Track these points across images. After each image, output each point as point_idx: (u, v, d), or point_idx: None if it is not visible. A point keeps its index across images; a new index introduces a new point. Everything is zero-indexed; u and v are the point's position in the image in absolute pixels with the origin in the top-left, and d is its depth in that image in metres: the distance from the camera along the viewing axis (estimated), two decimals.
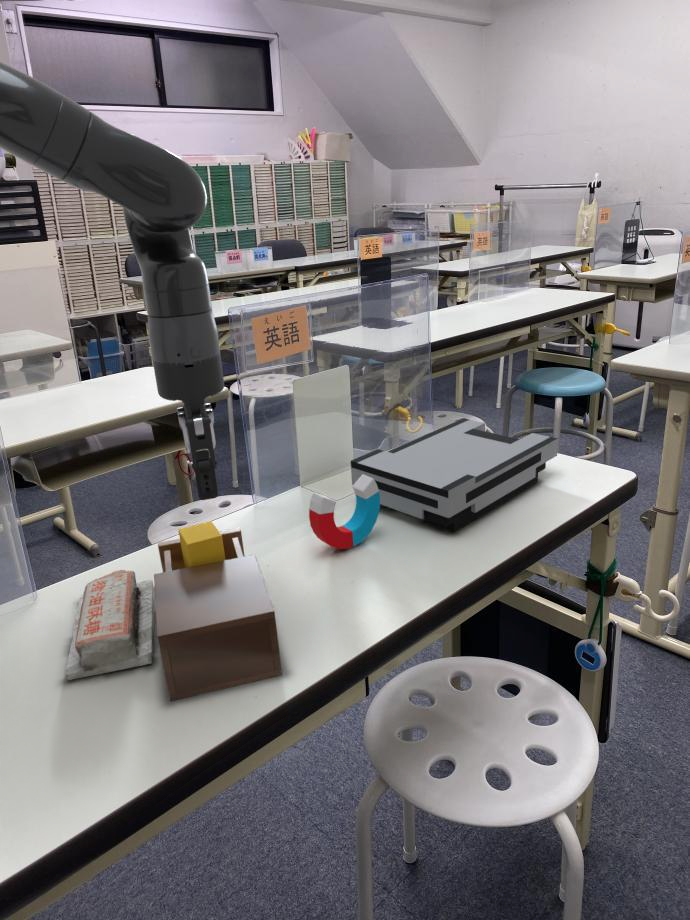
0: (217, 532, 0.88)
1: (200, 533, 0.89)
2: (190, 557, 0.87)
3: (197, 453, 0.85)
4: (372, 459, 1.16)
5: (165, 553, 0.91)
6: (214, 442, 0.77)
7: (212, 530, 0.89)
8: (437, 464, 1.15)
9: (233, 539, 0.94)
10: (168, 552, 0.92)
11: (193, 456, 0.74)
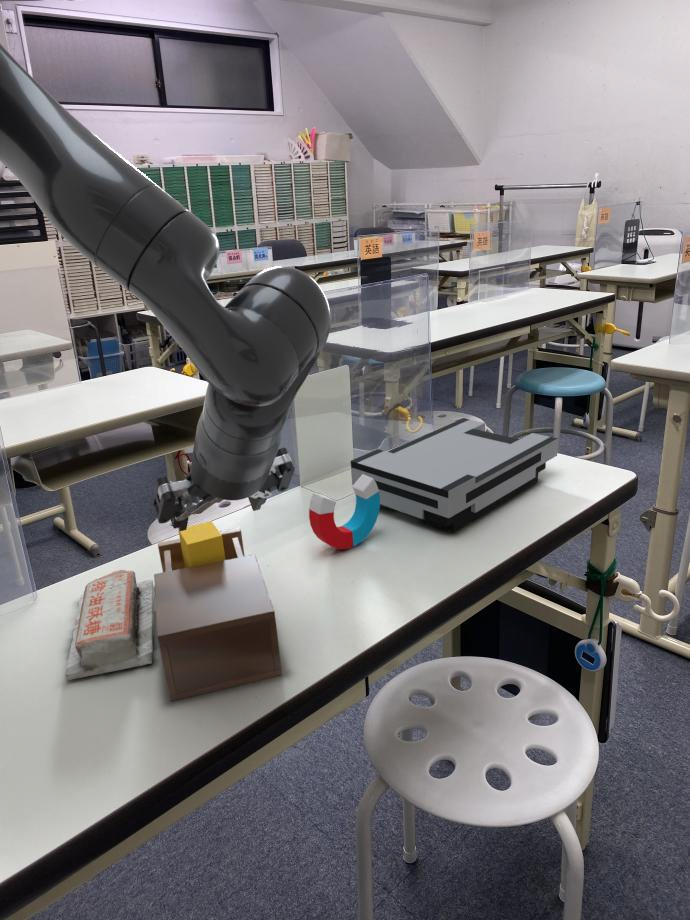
0: (217, 532, 0.88)
1: (200, 533, 0.89)
2: (190, 557, 0.87)
3: None
4: (372, 459, 1.16)
5: (165, 553, 0.91)
6: (191, 511, 0.69)
7: (212, 530, 0.89)
8: (437, 464, 1.15)
9: (233, 539, 0.94)
10: (168, 552, 0.92)
11: (153, 497, 0.69)
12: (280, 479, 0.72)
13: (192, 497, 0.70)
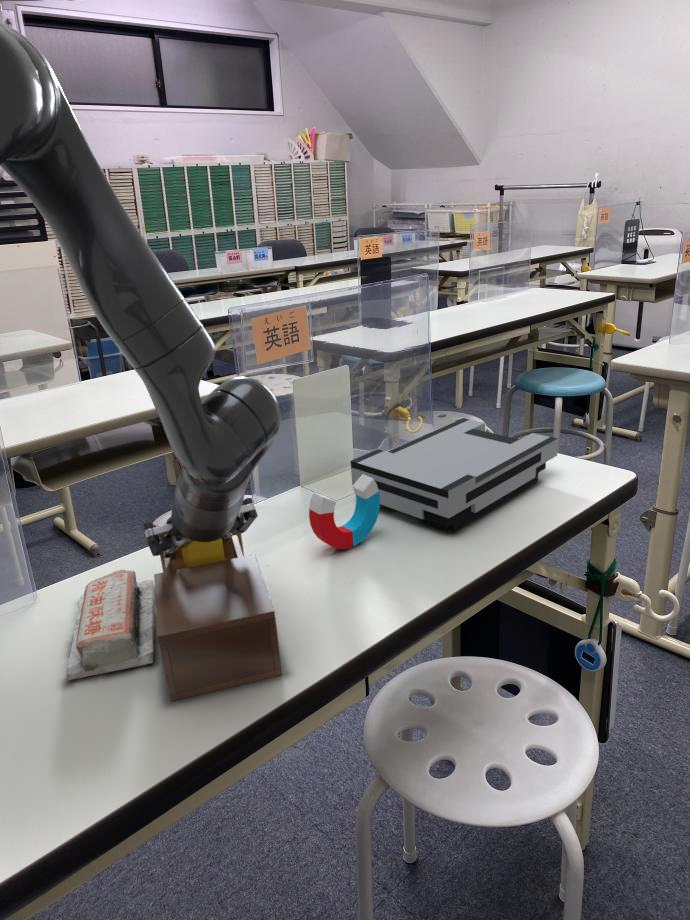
0: None
1: None
2: (189, 554, 0.87)
3: None
4: (372, 459, 1.16)
5: None
6: (176, 547, 0.84)
7: None
8: (437, 464, 1.15)
9: (232, 537, 0.95)
10: None
11: None
12: (243, 523, 0.87)
13: None
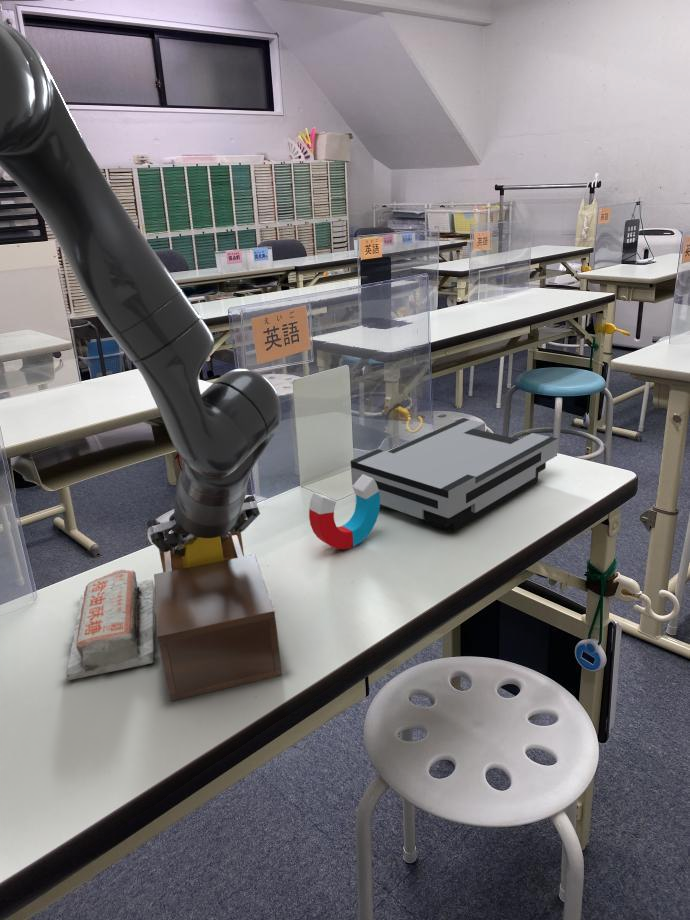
0: None
1: None
2: (187, 551, 0.87)
3: None
4: (372, 459, 1.16)
5: None
6: (182, 544, 0.84)
7: None
8: (437, 464, 1.15)
9: (232, 536, 0.95)
10: None
11: None
12: (243, 521, 0.86)
13: None
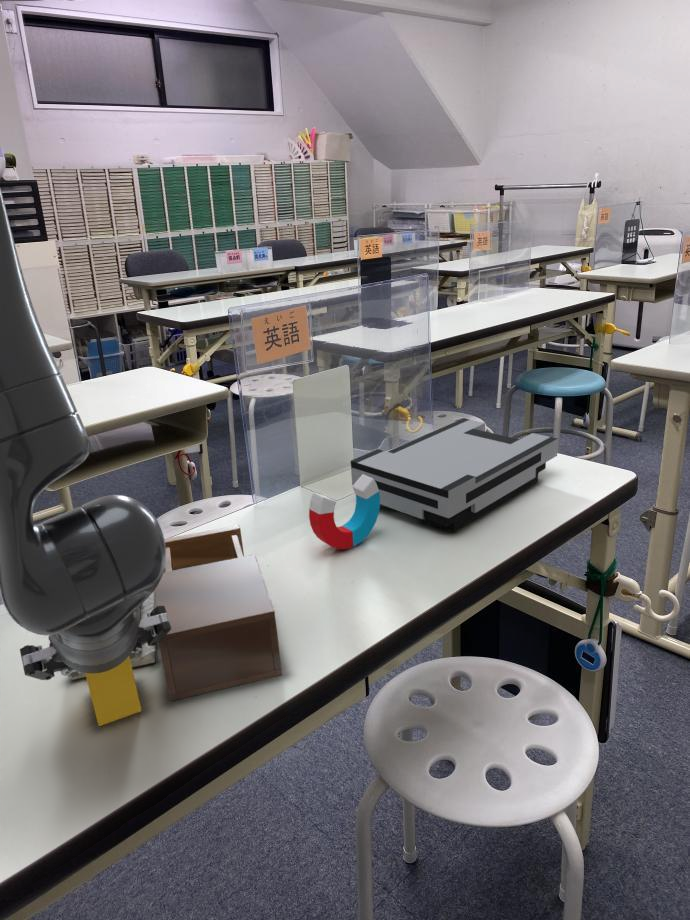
0: None
1: None
2: None
3: None
4: (372, 459, 1.16)
5: None
6: (69, 671, 0.67)
7: None
8: (437, 464, 1.15)
9: (232, 536, 0.95)
10: (167, 549, 0.92)
11: None
12: (153, 636, 0.69)
13: None
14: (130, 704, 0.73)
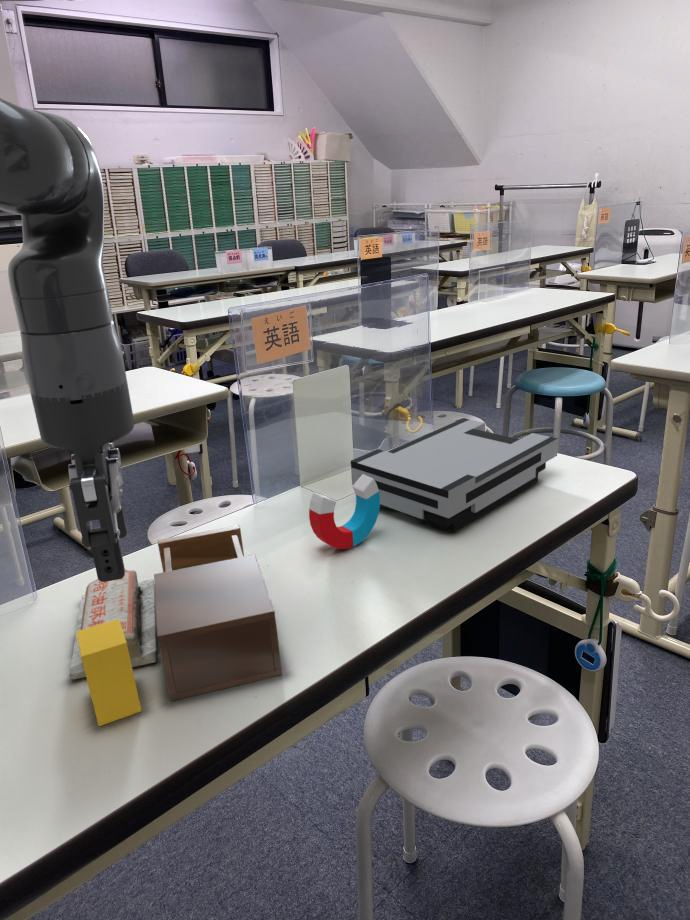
0: (122, 637, 0.72)
1: (101, 638, 0.72)
2: (86, 671, 0.70)
3: None
4: (372, 459, 1.16)
5: (165, 550, 0.92)
6: (117, 505, 0.57)
7: (116, 634, 0.72)
8: (437, 464, 1.15)
9: (232, 536, 0.95)
10: (167, 549, 0.92)
11: (82, 529, 0.53)
12: None
13: None
14: (130, 704, 0.73)
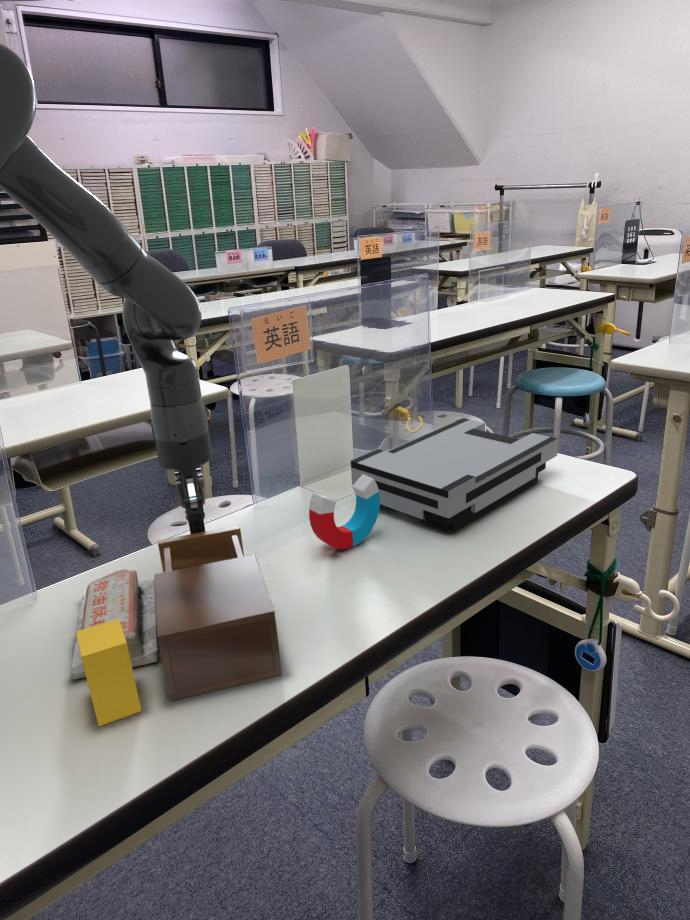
0: (122, 637, 0.72)
1: (101, 638, 0.72)
2: (86, 671, 0.70)
3: None
4: (372, 459, 1.16)
5: (165, 550, 0.92)
6: (204, 502, 0.99)
7: (116, 634, 0.72)
8: (437, 464, 1.15)
9: (232, 537, 0.95)
10: (167, 549, 0.92)
11: (188, 517, 0.97)
12: None
13: None
14: (130, 704, 0.73)
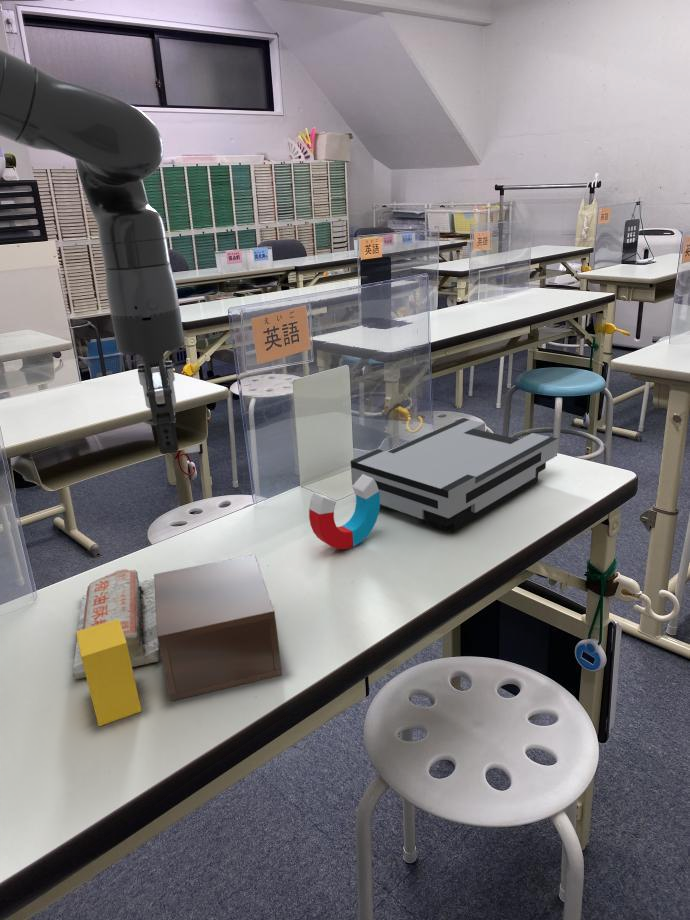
0: (122, 637, 0.72)
1: (101, 638, 0.72)
2: (86, 671, 0.70)
3: None
4: (372, 459, 1.16)
5: None
6: (174, 401, 0.80)
7: (116, 634, 0.72)
8: (437, 464, 1.15)
9: None
10: None
11: (153, 417, 0.77)
12: None
13: None
14: (130, 704, 0.73)
